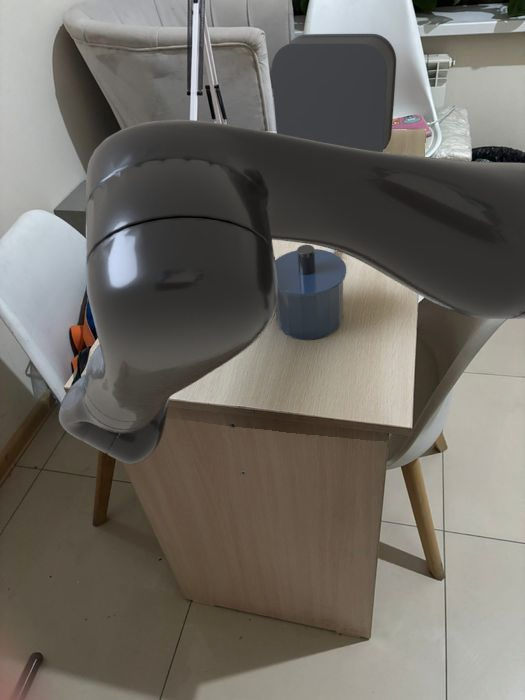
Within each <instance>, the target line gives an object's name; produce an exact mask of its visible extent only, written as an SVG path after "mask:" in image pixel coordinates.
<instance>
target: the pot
mask: <svg viewBox="0 0 525 700" xmlns="http://www.w3.org/2000/svg"><path fill="white" fill-rule="evenodd" d="M275 318H276V323H277V326H278V328H279V330H280V331H281V332H282V333H283V334H285V335H286V336H288V337H290V338H293V339H295V340H296V339H297V340H300V341H301V340H302V341H315V340H319V339H323V338H326V337H328V336H330V335H332V334H334V333H335V332H336V331H338V329H339V328H340V327H341V324H342V322H343V320H344V319H343V318H344V281H343V282H342V283H341V284H340V285H339V286H338V287H337V288H335V289H333V290H332V291H329V292H327V293H324V294H321V295H316V296H309V297H300V296H292V295H288V294H285V293H282V292H280V291H279V290H278V303H277V309H276V312H275Z"/></svg>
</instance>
